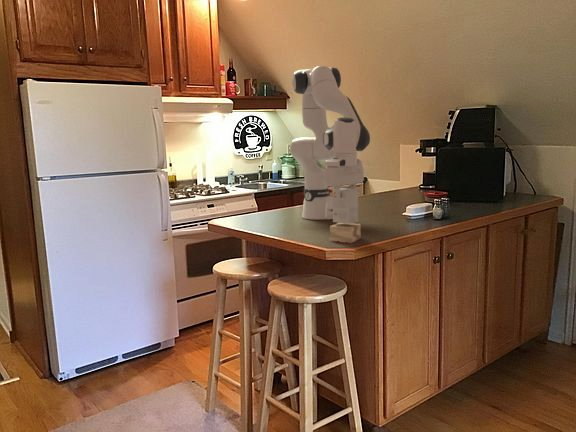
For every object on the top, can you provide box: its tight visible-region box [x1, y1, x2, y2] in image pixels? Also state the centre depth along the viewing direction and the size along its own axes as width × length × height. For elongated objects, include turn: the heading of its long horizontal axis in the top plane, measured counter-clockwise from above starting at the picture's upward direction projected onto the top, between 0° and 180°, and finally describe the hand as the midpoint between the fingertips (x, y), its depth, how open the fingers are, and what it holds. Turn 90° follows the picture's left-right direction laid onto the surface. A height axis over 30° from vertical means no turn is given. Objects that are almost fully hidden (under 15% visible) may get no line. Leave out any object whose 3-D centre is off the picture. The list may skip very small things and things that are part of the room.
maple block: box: [329, 222, 362, 244], centre depth 206 cm, size 9×9×6 cm
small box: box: [331, 187, 359, 224], centre depth 204 cm, size 8×6×13 cm
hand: (345, 196), depth 203 cm, fingers closed on small box, 6 cm apart
